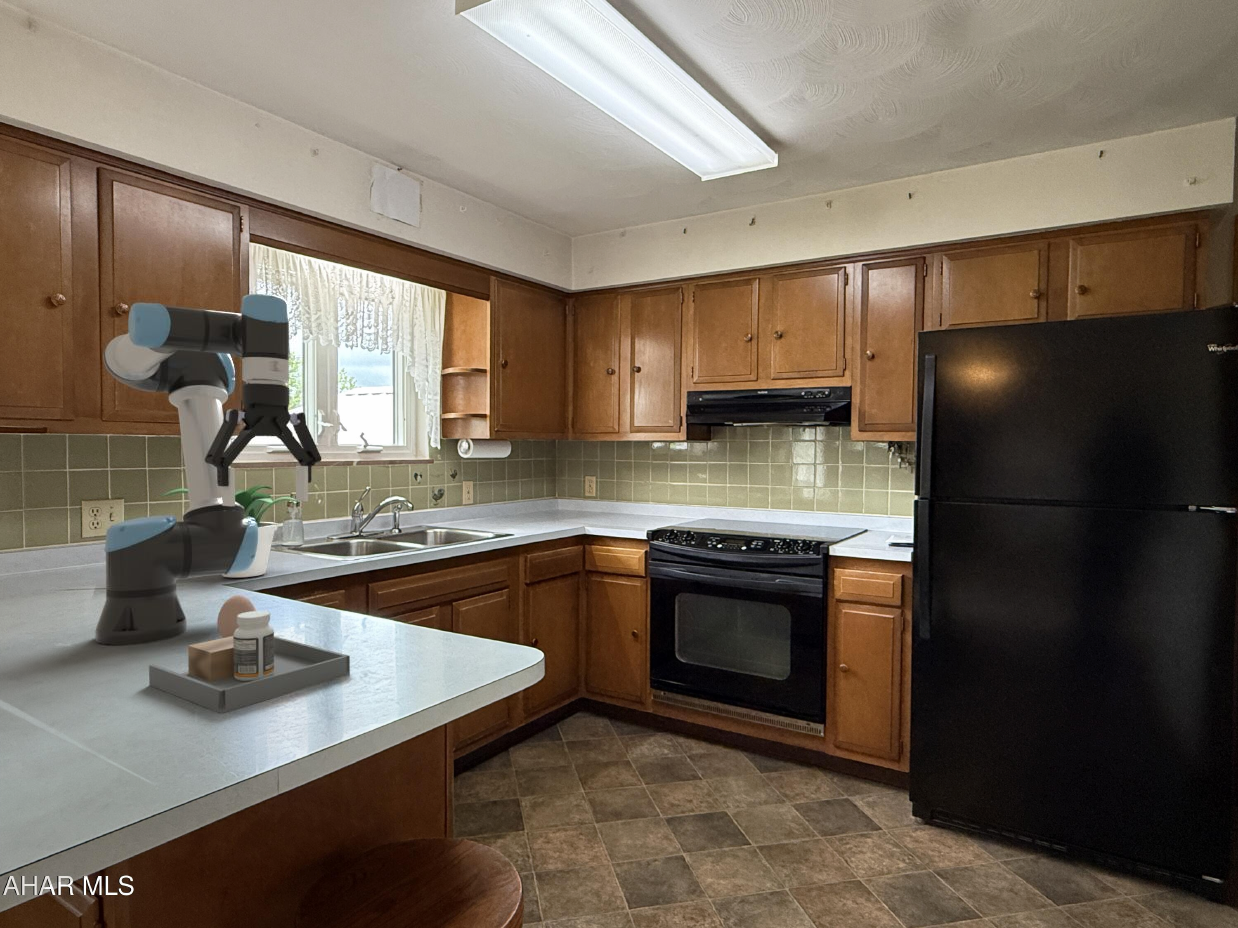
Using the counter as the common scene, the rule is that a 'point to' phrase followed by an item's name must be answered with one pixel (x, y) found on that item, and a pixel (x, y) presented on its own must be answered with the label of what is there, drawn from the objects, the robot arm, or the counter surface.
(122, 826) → the counter surface
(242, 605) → the egg
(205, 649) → the brown rectangular block
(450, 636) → the counter surface
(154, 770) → the counter surface
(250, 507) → the potted plant
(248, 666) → the pill bottle
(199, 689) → the grey rimmed tray
